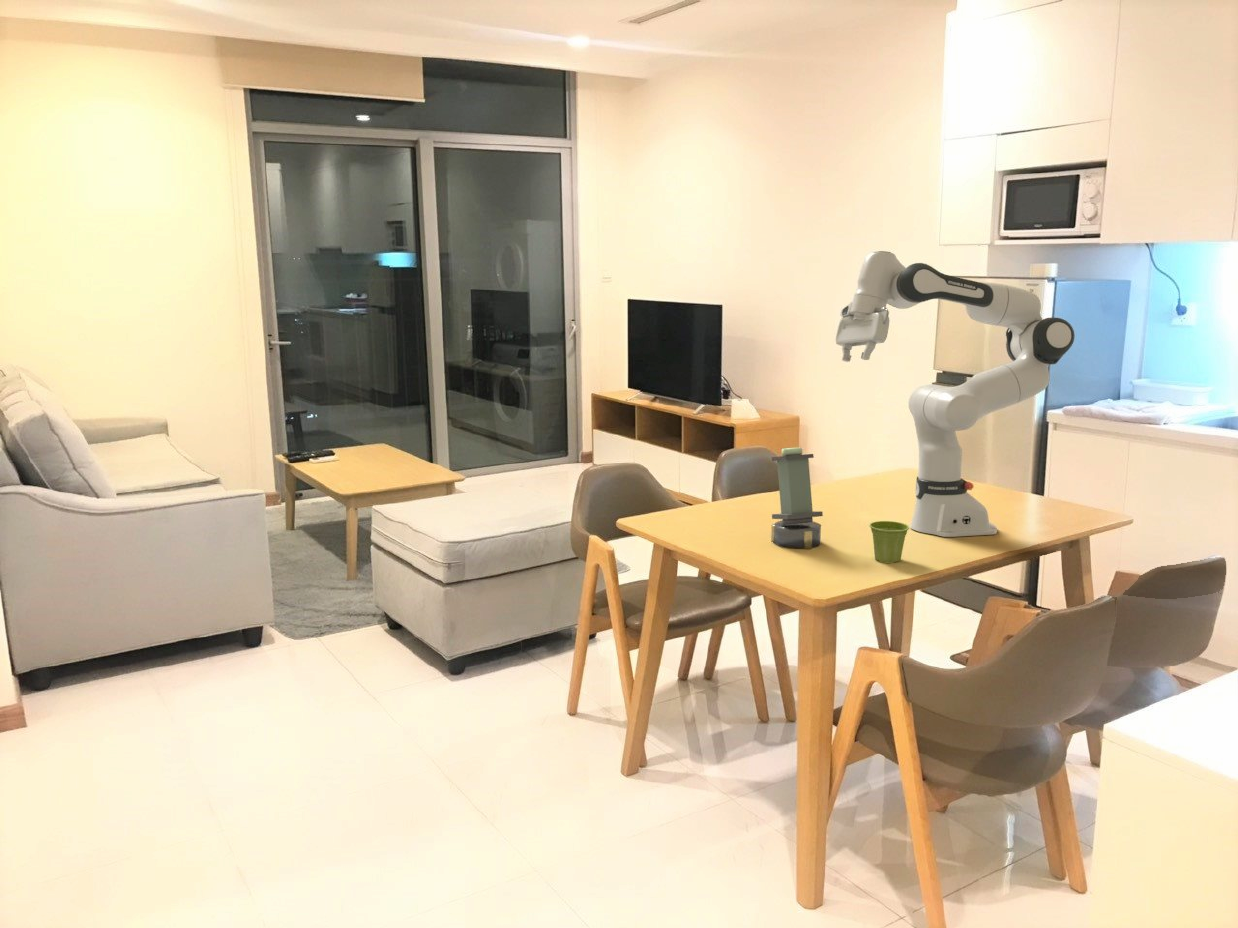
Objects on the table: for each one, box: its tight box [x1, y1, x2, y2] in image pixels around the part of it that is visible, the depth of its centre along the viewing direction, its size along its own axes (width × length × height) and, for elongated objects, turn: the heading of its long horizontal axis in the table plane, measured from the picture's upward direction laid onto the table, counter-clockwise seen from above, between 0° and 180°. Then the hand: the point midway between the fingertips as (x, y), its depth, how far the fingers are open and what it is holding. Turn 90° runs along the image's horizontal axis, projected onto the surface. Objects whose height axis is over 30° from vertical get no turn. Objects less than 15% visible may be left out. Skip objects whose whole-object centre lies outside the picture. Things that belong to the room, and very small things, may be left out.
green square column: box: [771, 447, 824, 525], centre depth 259 cm, size 10×9×20 cm
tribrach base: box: [770, 520, 822, 550], centre depth 259 cm, size 12×13×5 cm
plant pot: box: [869, 520, 910, 564], centre depth 242 cm, size 9×9×9 cm
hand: (855, 360), depth 265 cm, fingers open, 8 cm apart
